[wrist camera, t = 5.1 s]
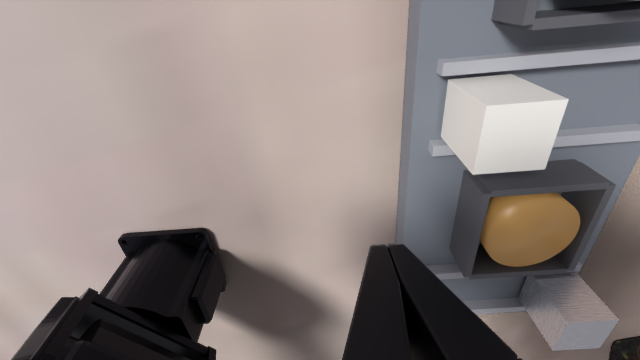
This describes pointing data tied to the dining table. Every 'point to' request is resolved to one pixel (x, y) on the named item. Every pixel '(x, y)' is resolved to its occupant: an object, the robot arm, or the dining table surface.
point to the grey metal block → (567, 311)
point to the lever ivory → (501, 123)
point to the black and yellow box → (626, 349)
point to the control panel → (567, 152)
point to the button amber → (528, 228)
